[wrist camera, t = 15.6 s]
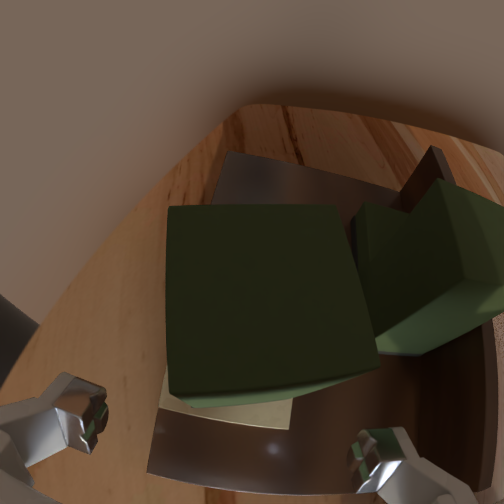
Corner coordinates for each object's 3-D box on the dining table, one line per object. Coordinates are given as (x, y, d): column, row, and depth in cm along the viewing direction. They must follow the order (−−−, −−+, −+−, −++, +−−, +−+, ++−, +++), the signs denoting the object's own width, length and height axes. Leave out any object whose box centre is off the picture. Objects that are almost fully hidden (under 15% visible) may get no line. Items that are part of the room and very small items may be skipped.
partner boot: (351, 351, 17) (463, 276, 9) (350, 221, 22) (410, 115, 14) (418, 357, 17) (533, 294, 9) (406, 235, 23) (475, 146, 14)
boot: (191, 408, 14) (163, 394, 6) (184, 245, 19) (174, 108, 11) (289, 399, 15) (386, 366, 7) (264, 242, 20) (302, 112, 12)
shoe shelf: (160, 461, 16) (113, 498, 7) (224, 189, 29) (234, 89, 20) (387, 476, 17) (491, 486, 7) (387, 226, 29) (441, 149, 20)
